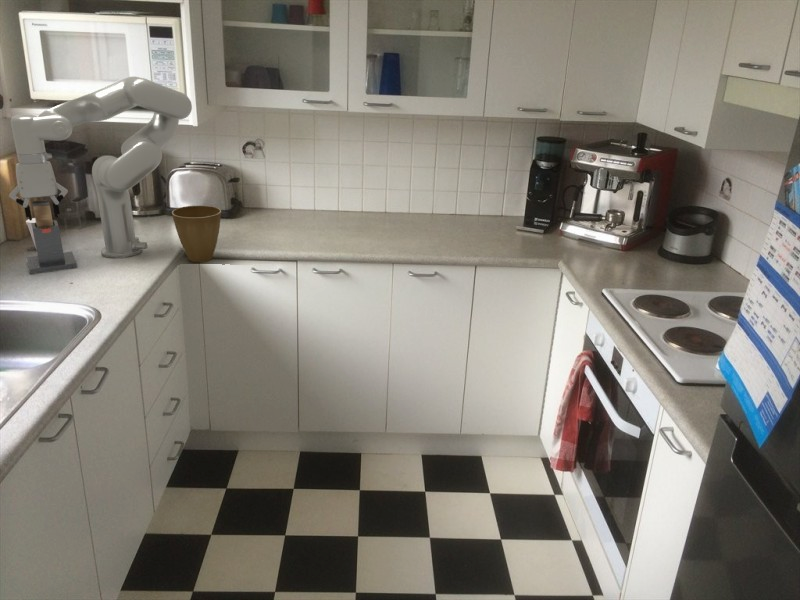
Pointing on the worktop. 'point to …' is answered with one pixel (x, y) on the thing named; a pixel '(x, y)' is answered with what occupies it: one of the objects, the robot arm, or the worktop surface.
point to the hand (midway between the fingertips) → (43, 217)
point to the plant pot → (198, 230)
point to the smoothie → (31, 228)
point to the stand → (49, 251)
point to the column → (42, 213)
